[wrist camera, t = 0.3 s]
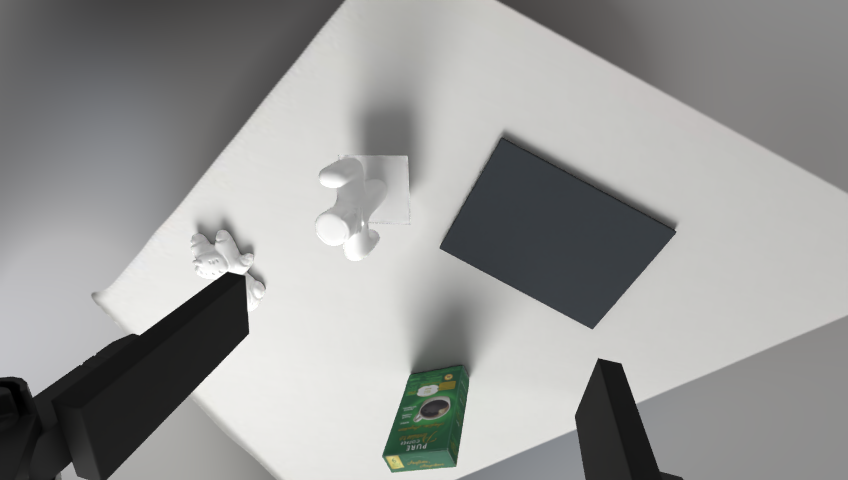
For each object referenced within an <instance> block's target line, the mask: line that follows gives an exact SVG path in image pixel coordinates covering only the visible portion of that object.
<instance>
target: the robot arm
mask: <svg viewBox="0 0 848 480" xmlns="http://www.w3.org/2000/svg"><path fill="white" fill-rule="evenodd" d="M248 334H249V323H248V307H247V290H246V276H245V275H241V274H236V273H232V272H228V271H227V272H226V273H224V274H223V275H222V276H220V277H219V278H218V279H216V280H215V281H214V282H212V283H211V284H209V285H208V286H207V287H205V288H204V289H203V290H201V291H200V292H199V293H197V294H196V295H194V296H193V297H192V298H190V299H189V300H188V301H186V302H185V303H184V304H182V305H181V306H179V307H178V308H177V309H175V310H174V311H173V312H171V313H170V314H169V315H167V316H166V317H164V318H163V319H162V320H160V321H159V322H158V323H156V324H155V325H154V326H152V327H151V328H149V329H148V330H147V331H145V332H144V333H143V334H141V335H136V334H130V335H128V336H126V337H123V338H121V339H119V340H116V341H114V342H112V343H111V344H109V345H108V346H106V347H105V348H103V349H102V350H101V351H99V352H98V353H97V354H96V355H95V356H92V357H90V358H89V359H88V360H86V361H85V362H83V365H79V366H78V367H76V368H75V369H73V370H72V371H70V372H69V373H68V374H66V375H65V376H63V377H62V378H60V379H59V380H58V381H56V382H55V383H53V384H52V385H50V386H49V387H48V388H46V389H45V390H43V391H42V392H40V393H39V394H38V395H36V396H35V397H33V398H32V395H31V392H30V389H29V387H28V384H27V382H25V381H24V380H23V379H22V378H17V377H3V378H0V480H61V473H60V472H61V471H62V470H63V469H64V468H65V467H66V466H68V465H69V464H70V463H71V462H72V463H73V465H74V468H75V471H76V474H77V476H78V477H81V478H84V479H88V480H107V479H108V478H109V477H110V476H111V475H112V474H113V473H114V472H115V471H116V470H117V468H118V467H120V465H121V464H122V463H123V462H124V461H125V460H126V459H127V458H128V457H129V456H130V455H131V454H132V453H133V452H134V451H135V450H136V449H137V448H138V447H139V446H140V445H141V444H142V443H143V442H144V441H145V440H146V439H147V438H148V437H149V436H150V435H151V434H152V433H153V432H154V431H155V430H156V429H157V428H158V426H159V425H160V424H161V423H162V422H163V421H164V420H165V419H166V418H167V417H168V416H169V415H170V414H171V413H172V412H173V411H174V410H175V409H176V408H177V407H178V406H179V405H180V404H181V403H182V402H183V401H184V400H185V399H186V398H187V397H188V396H189V395H190V394H191V393H192V392H193V391H194V390H195V389H196V387H197V386H198V385H199V384H200V383H201V382H202V381H203V380H204V379H205V378H206V377H207V376H208V375H209V374H210V373H211V372H212V371H213V370H214V369H215V368H216V367H217V366H218V365H219V364H220V363H221V362H222V361H223V360H224V359H225V358H226V357H227V356H228V355H229V354H230V353H231V352H232V351H233V349H234V348H235V347H236V346H237V345H238V344H239V343H240V342H241V341H242V340H243V339H244V338H245V337H246V336H247V335H248ZM575 420H576V426H577V432H578V437H579V443H580V449H581V455H582V461H583V467H584V472H585V478H586V480H683V478H682V477H678V476H674V475H671V474H667V473H663V472H660V471H659V469H658V466H657V463H656V460H655V457H654V455H653V452H652V449H651V446H650V443H649V440H648V438H647V435H646V432H645V429H644V426H643V423H642V421H641V418H640V415H639V412H638V409H637V407H636V404H635V401H634V398H633V395H632V392H631V389H630V387H629V384H628V381H627V378H626V375H625V372H624V370H623V367H622V364H621V363H616V362H612V361H608V360H603V359H599V358H598V360H597V363H596V365H595V367H594V370H593V372H592V375H591V377H590V380H589V382H588V385H587V387H586V390H585V392H584V395H583V397H582V400H581V402H580V404H579V407H578V409H577V412H576V414H575Z"/></svg>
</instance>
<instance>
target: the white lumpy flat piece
mask: <svg viewBox="0 0 848 480" xmlns="http://www.w3.org/2000/svg"><path fill="white" fill-rule="evenodd" d="M215 239H216V240H217V241H216V242H215V244H213V245H211V244H210V243H209V241H208V240H207V238H206V237H205V236H204V235H202V234H200V233H198V234H195V235H193V236H192V240H191V244H193V245H192V246H191V250H192V252H193V255H194V257H195V258H196V260H194V261H193V264H194V265H197V266H196V268H195V271H196V273H197V274H198V275H201V277H203V278H209V279H215V280H216V279H218V278H219V277H220V276H222V275H223V274H224V273H226V272H227V271H228V272H232V273H236V274H241V275H245V276H246V290H247V307H248V312H250V311H252V310H253V309H255V308H256V307H257V306H258V305H259V304H260V302H261V300H262V296H263V295H264V293H265V288H264V286H263V284H262V283H261V282H259V281H256V280H255V279H254V278H253V277H252V276H251V275H249V274H248V272H247V270H248V269H249V268H250V266H251V265H252V263H253V255H252V254H251V253H247V254H245V255H241V254H240V253H239V250H238V248H237V246H236V243H235V242H234V240H233V238H232V237H231V235H230V234H229V233H228V232H227V231H225V230H220V231H218V232H217V236H216V237H215Z"/></svg>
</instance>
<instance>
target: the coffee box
mask: <svg viewBox="0 0 848 480" xmlns="http://www.w3.org/2000/svg"><path fill="white" fill-rule="evenodd" d="M468 387H469V377H468V375H467V372H466V370H465V368H464V366H463V365H461V366H455V367H448V368H444V369H440V370H434V371H428V372H421V373H418V374H412V375H410V376H409V379H408V381H407V384H406V388H405V391H404V394H403V397H402V400H401V403H400V406H399V409H398V412H397V414H396V417H395V420H394V423H393V426H392V429H391V432H390V435H389V438H388V441H387V443H386V446H385V449H384V452H383V455H382V457H383V459H384V460H385V462H386V463H387V465H388V467H389V469H390V470H391V472H392V473H393V472H403V471H414V470H425V469H436V468H447V467H456V465H457V458H458V452H459V445H460V439H461V433H462V426H463V420H464V413H465V407H466V401H467V394H468Z"/></svg>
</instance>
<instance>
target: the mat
mask: <svg viewBox="0 0 848 480" xmlns="http://www.w3.org/2000/svg"><path fill="white" fill-rule="evenodd" d="M675 234H676V231H675V230H674V229H672V228H670V227H668V226H666V225H664V224H662V223H661V222H659V221H657V220H655V219H653V218H651V217H649V216H648V215H646V214H644V213H642V212H640V211H638V210H636V209H635V208H633V207H631V206H629V205H627V204H625V203H623V202H621V201H620V200H618V199H616V198H614V197H612V196H610V195H608V194H607V193H605V192H603V191H601V190H599V189H597V188H595V187H594V186H592V185H590V184H588V183H586V182H584V181H582V180H580V179H579V178H577V177H575V176H573V175H571V174H569V173H567V172H566V171H564V170H562V169H560V168H558V167H556V166H554V165H553V164H551V163H549V162H547V161H545V160H543V159H541V158H540V157H538V156H536V155H534V154H532V153H530V152H528V151H526V150H525V149H523V148H521V147H519V146H517V145H515V144H513V143H512V142H510V141H508V140H506V139H504V138H501V140H500V142H499V144H498V146H497V147H496V149H495V151H494V153H493V154H492V156H491V158H490V160H489V161H488V163H487V165H486V167H485V168H484V170H483V172H482V174H481V176H480V177H479V179H478V181H477V183H476V184H475V186H474V188H473V190H472V191H471V193H470V195H469V197H468V198H467V200H466V202H465V204H464V206H463V207H462V209H461V211H460V213H459V214H458V216H457V218H456V220H455V221H454V223H453V225H452V227H451V228H450V230H449V232H448V234H447V236H446V237H445V239H444V241H443V243H442V244H441V246H440V249H442V250H444V251H445V252H447V253H449V254H451V255H453V256H455V257H457V258H459V259H460V260H462V261H464V262H466V263H468V264H470V265H472V266H474V267H476V268H477V269H479V270H481V271H483V272H485V273H487V274H489V275H491V276H493V277H494V278H496V279H498V280H500V281H502V282H504V283H506V284H508V285H510V286H511V287H513V288H515V289H517V290H519V291H521V292H523V293H525V294H527V295H528V296H530V297H532V298H534V299H536V300H538V301H540V302H542V303H544V304H545V305H547V306H549V307H551V308H553V309H555V310H557V311H559V312H561V313H562V314H564V315H566V316H568V317H570V318H572V319H574V320H576V321H577V322H579V323H581V324H583V325H585V326H587V327H589V328H591V329H593V328H594V327H595V326H596V325H597V324H598V323H599V321H600V320H601V319H602V318H603V317H604V316H605V314H606V313H607V312H608V311H609V310H610V309H611V308H612V306H613V305H614V304H615V303H616V302H617V301H618V299H619V298H620V297H621V296H622V295H623V294H624V293H625V291H626V290H627V289H628V288H629V287H630V286H631V284H632V283H633V282H634V281H635V280H636V279H637V278H638V276H639V275H640V274H641V273H642V272H643V271H644V269H645V268H646V267H647V266H648V265H649V264H650V262H651V261H652V260H653V259H654V258H655V257H656V256H657V254H658V253H659V252H660V251H661V250H662V249H663V247H664V246H665V245H666V244H667V243H668V242H669V241H670V239H671V238H672V237H673V236H674V235H675Z"/></svg>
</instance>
